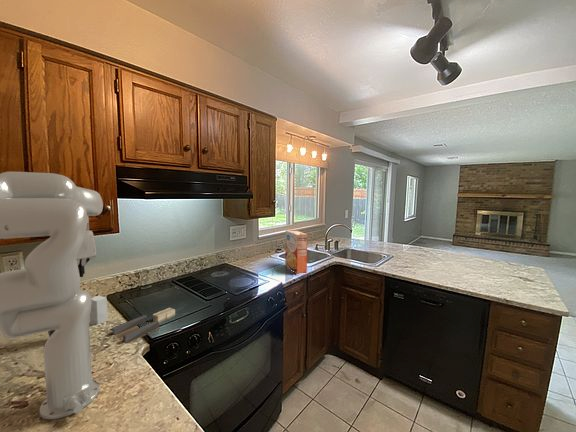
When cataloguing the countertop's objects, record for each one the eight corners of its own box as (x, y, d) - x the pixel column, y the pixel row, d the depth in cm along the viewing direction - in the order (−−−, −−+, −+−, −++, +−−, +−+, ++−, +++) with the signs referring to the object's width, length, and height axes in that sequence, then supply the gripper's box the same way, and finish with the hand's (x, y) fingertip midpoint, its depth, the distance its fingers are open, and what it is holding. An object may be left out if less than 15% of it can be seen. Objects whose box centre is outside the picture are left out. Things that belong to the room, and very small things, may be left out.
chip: (166, 321, 111) (166, 313, 111) (158, 325, 108) (158, 316, 108) (161, 318, 113) (161, 310, 113) (153, 322, 110) (152, 314, 110)
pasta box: (285, 266, 200) (285, 230, 197) (294, 265, 203) (294, 229, 200) (296, 275, 179) (297, 234, 176) (306, 274, 182) (307, 234, 179)
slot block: (160, 331, 104) (160, 322, 104) (127, 347, 93) (126, 337, 93) (143, 322, 111) (143, 314, 110) (111, 336, 100) (110, 327, 99)
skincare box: (108, 323, 110) (107, 297, 109) (97, 327, 106) (96, 301, 105) (100, 320, 112) (99, 295, 111) (89, 324, 109) (88, 298, 108)
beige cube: (175, 317, 115) (175, 309, 114) (167, 321, 111) (166, 313, 111) (170, 315, 117) (169, 307, 116) (162, 319, 113) (161, 310, 113)
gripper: (52, 231, 82) (56, 284, 83) (104, 227, 94) (106, 273, 96) (44, 229, 86) (48, 280, 87) (95, 225, 98) (98, 269, 100)
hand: (79, 276), depth 92 cm, fingers closed
